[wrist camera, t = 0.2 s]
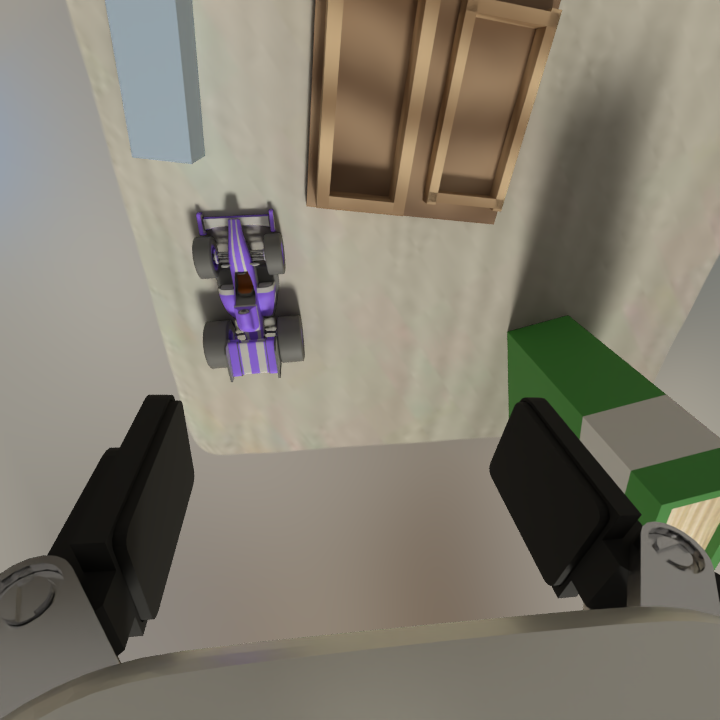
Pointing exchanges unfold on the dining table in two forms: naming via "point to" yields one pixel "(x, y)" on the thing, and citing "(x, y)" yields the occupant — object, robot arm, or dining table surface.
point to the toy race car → (246, 299)
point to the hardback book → (623, 425)
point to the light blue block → (158, 77)
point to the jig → (423, 103)
